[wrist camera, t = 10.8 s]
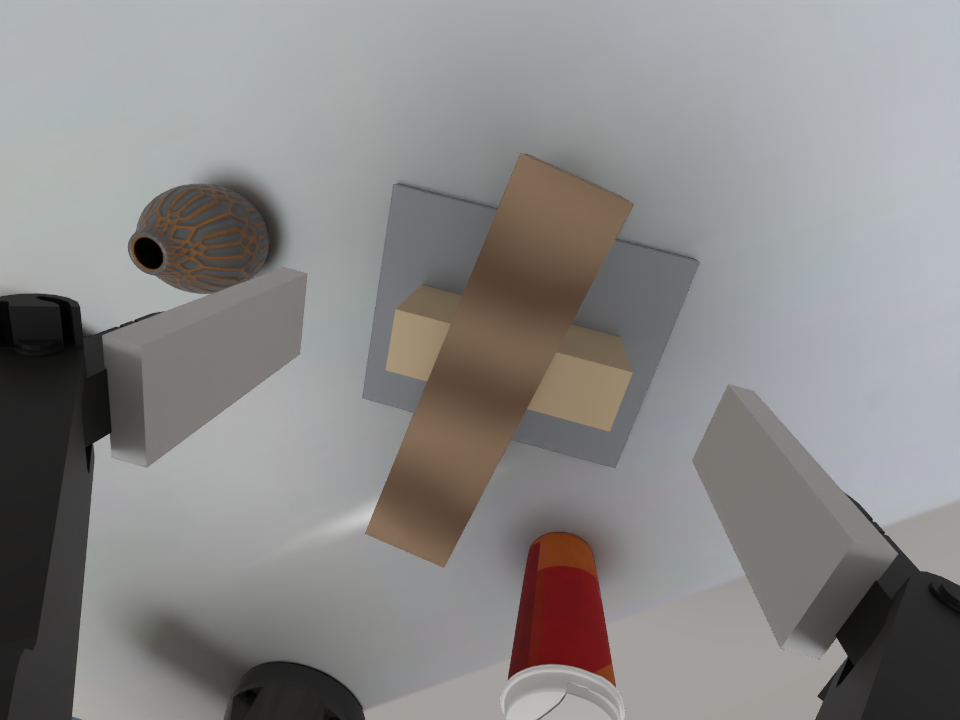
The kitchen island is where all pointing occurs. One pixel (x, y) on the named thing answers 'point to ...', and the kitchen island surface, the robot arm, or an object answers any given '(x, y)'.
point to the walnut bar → (496, 352)
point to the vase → (200, 239)
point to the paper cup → (561, 639)
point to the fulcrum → (580, 357)
